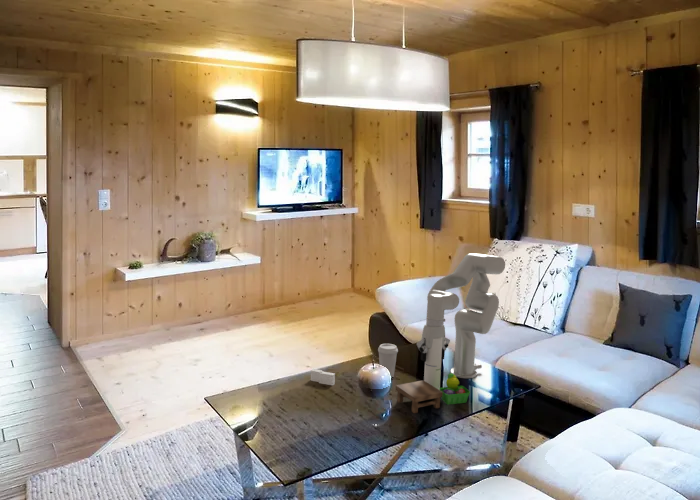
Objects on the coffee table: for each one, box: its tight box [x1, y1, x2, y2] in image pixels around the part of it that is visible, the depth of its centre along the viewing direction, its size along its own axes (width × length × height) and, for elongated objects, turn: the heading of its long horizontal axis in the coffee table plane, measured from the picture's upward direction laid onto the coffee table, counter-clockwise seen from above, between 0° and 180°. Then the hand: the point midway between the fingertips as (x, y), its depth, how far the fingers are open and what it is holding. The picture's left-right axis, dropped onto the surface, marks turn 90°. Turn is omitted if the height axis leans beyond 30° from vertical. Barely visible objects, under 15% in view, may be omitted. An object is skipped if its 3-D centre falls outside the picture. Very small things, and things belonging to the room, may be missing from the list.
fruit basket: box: [440, 373, 471, 405], centre depth 244 cm, size 11×9×11 cm
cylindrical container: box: [423, 337, 443, 390], centre depth 253 cm, size 7×7×25 cm
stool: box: [395, 379, 443, 414], centre depth 240 cm, size 14×14×7 cm
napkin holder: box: [310, 368, 336, 386], centre depth 262 cm, size 15×11×6 cm
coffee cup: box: [377, 343, 399, 377], centre depth 269 cm, size 10×10×15 cm
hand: (432, 359), depth 253 cm, fingers open, 9 cm apart
